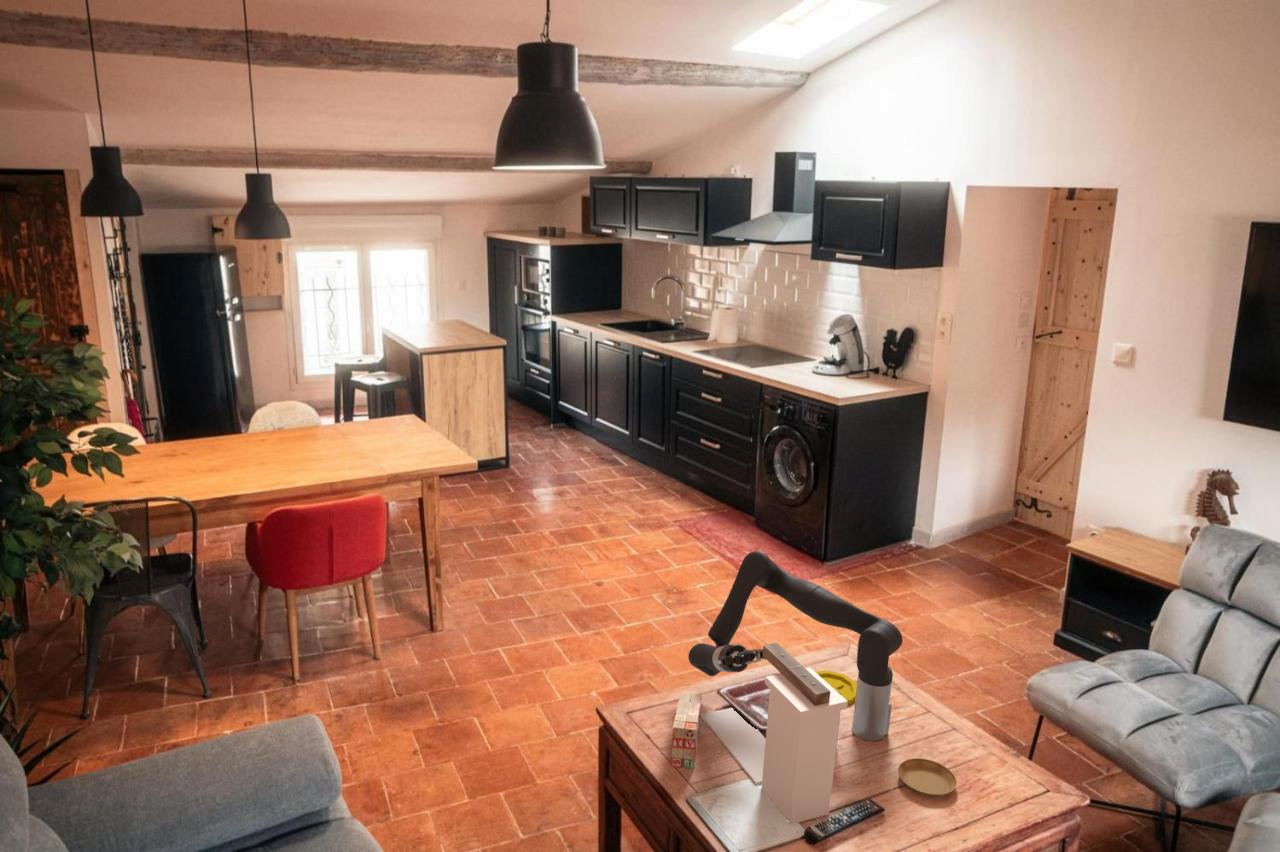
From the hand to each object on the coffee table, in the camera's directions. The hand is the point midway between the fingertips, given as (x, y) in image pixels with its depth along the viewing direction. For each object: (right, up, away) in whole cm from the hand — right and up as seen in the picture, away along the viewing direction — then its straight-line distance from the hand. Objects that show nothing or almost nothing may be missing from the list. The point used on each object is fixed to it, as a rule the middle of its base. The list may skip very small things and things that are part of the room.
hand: (757, 657), depth 237 cm
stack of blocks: (-18, -26, +9) cm, 33 cm away
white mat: (-2, -26, +10) cm, 28 cm away
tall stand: (+8, -33, -12) cm, 36 cm away
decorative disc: (+27, -20, +38) cm, 51 cm away
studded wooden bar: (+7, -1, -17) cm, 18 cm away
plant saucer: (+44, -32, -3) cm, 54 cm away
